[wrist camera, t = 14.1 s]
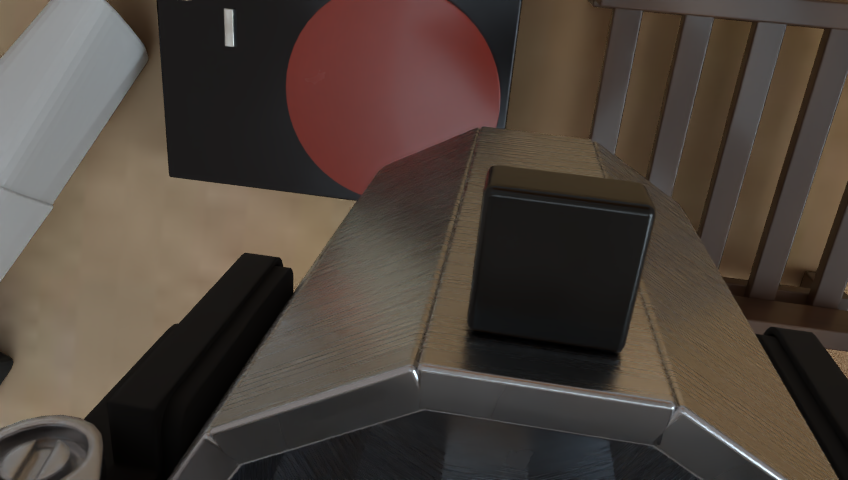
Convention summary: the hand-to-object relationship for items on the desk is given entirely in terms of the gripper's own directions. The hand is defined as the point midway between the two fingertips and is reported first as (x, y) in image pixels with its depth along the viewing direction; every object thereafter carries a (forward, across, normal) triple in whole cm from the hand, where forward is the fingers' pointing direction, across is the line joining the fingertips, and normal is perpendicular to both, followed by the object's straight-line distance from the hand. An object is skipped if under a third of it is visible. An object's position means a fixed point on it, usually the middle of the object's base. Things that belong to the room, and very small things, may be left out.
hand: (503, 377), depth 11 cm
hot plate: (+17, +5, 0) cm, 18 cm away
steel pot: (+2, 0, 0) cm, 2 cm away
